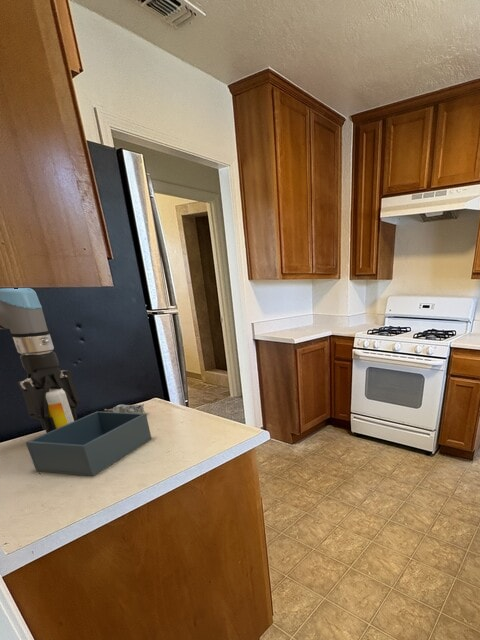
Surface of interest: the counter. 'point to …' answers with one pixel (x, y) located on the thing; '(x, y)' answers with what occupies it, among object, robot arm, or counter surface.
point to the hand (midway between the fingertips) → (64, 434)
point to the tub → (89, 443)
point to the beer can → (59, 407)
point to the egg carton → (127, 409)
